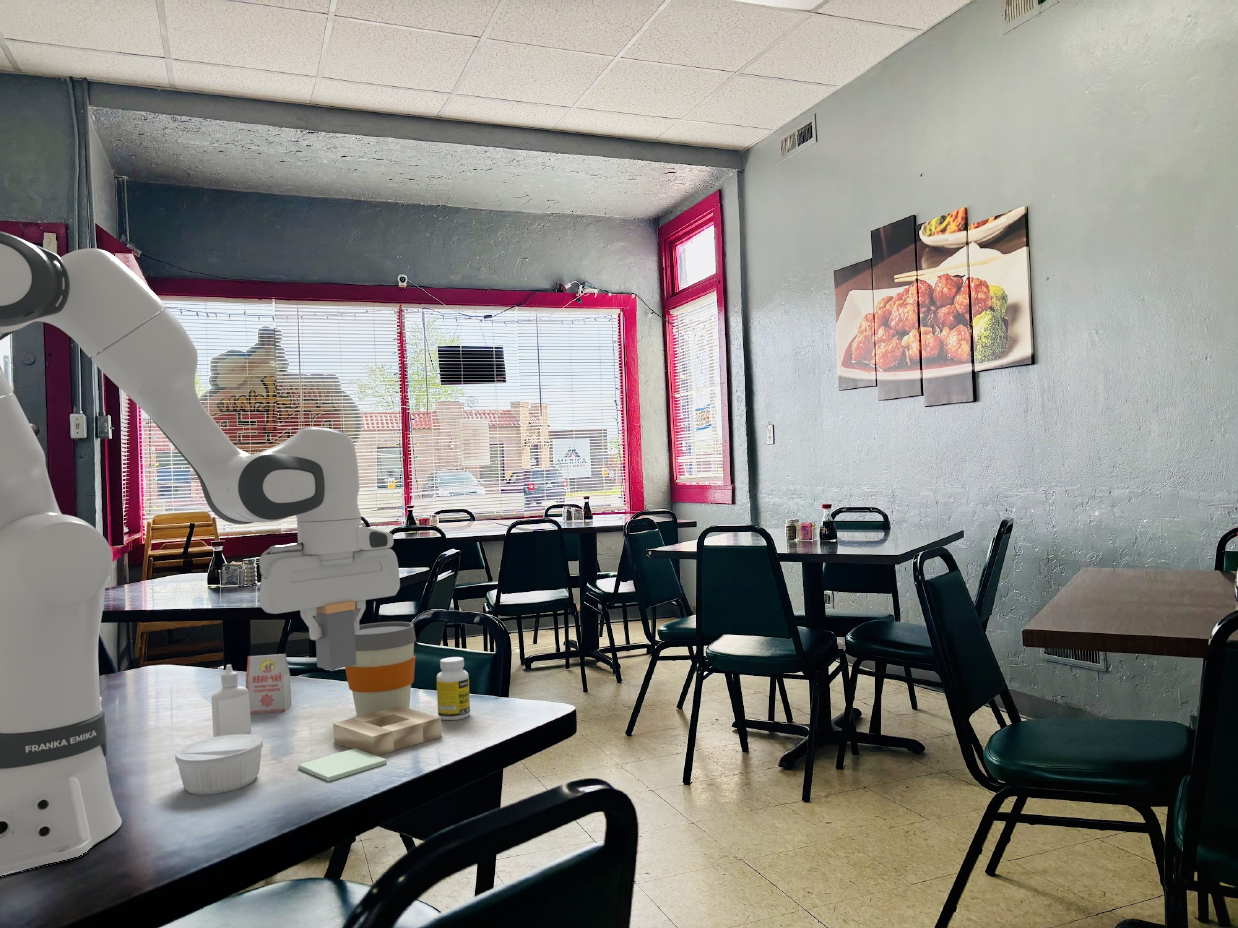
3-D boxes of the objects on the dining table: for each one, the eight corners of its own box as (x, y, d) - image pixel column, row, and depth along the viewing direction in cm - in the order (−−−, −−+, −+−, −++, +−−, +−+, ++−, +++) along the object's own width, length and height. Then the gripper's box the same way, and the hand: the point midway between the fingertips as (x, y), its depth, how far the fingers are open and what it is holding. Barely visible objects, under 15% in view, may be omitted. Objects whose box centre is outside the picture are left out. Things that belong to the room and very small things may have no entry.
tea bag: (254, 708, 166) (251, 654, 166) (291, 705, 166) (288, 651, 166) (247, 713, 162) (244, 658, 162) (285, 711, 163) (282, 656, 163)
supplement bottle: (463, 721, 149) (460, 662, 149) (433, 721, 150) (430, 662, 150) (475, 712, 155) (472, 655, 155) (445, 712, 156) (442, 655, 156)
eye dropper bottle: (250, 739, 145) (246, 665, 145) (212, 744, 144) (208, 669, 144) (252, 732, 150) (248, 660, 150) (215, 737, 148) (211, 664, 148)
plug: (330, 670, 126) (326, 605, 126) (315, 666, 129) (311, 603, 129) (358, 664, 129) (354, 600, 129) (343, 660, 132) (339, 598, 132)
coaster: (328, 781, 123) (328, 777, 123) (298, 768, 129) (298, 764, 129) (386, 763, 129) (386, 759, 129) (355, 751, 135) (355, 747, 135)
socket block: (373, 756, 133) (372, 736, 133) (334, 742, 141) (333, 723, 141) (441, 736, 141) (440, 717, 141) (400, 723, 150) (399, 705, 150)
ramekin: (181, 805, 117) (179, 764, 117) (172, 782, 126) (170, 744, 126) (272, 785, 123) (270, 746, 123) (257, 764, 132) (255, 728, 132)
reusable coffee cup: (430, 703, 162) (426, 620, 162) (402, 723, 150) (397, 633, 150) (366, 703, 165) (361, 622, 165) (332, 723, 152) (327, 635, 152)
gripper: (269, 547, 120) (274, 650, 119) (402, 534, 134) (407, 626, 134) (249, 546, 124) (254, 646, 124) (380, 533, 139) (385, 622, 138)
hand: (335, 635), depth 129 cm, fingers closed on plug, 4 cm apart
